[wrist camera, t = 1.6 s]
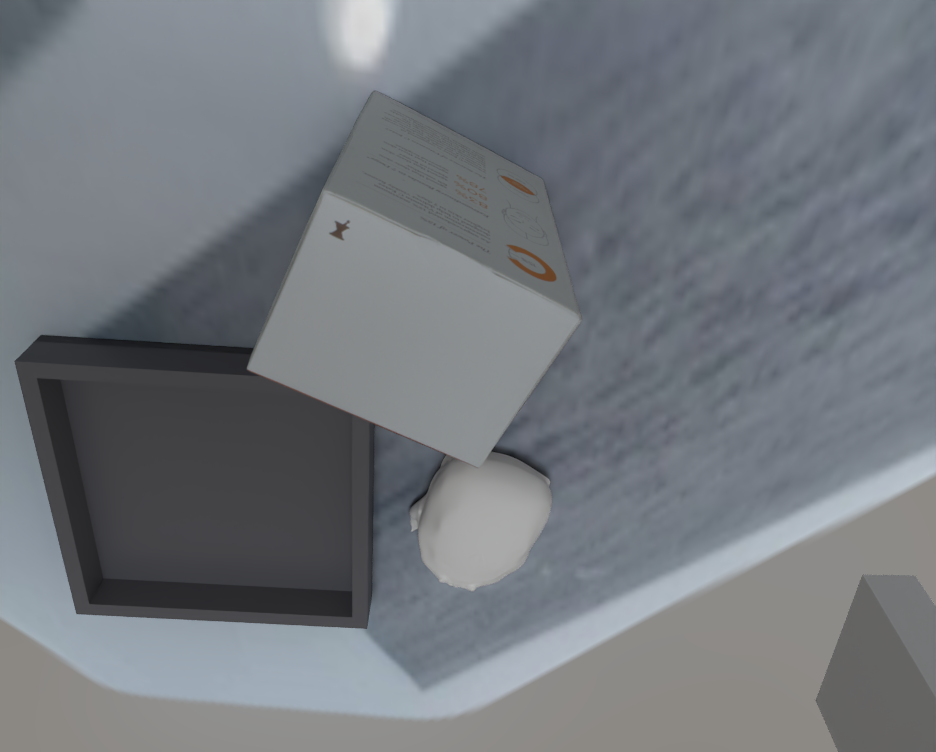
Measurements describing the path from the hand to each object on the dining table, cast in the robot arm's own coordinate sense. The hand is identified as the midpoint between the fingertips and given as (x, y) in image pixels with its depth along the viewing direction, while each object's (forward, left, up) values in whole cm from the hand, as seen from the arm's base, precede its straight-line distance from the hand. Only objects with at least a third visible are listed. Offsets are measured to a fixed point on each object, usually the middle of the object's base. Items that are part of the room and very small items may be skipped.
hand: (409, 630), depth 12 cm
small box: (-1, -1, -25) cm, 25 cm away
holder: (-11, -17, -25) cm, 32 cm away
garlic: (+3, -18, -25) cm, 31 cm away
